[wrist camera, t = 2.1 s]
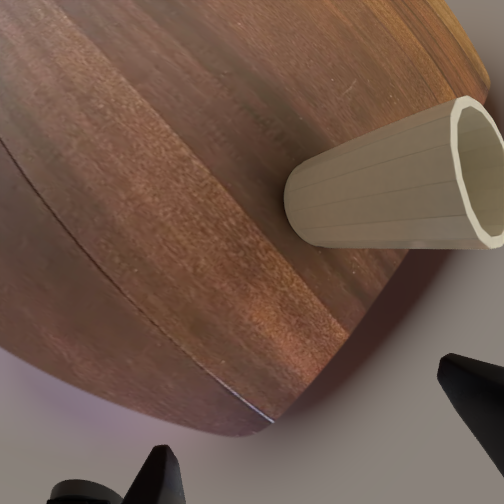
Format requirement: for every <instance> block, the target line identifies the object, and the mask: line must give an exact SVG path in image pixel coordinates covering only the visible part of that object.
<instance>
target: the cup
mask: <svg viewBox="0 0 504 504" xmlns="http://www.w3.org/2000/svg"><path fill="white" fill-rule="evenodd" d="M284 207H285V212H286V215H287V218H288V220H289V223H290V224H291V226H292V228H293V229H294V231H295V232H296V233H297V234H298V235H299V236H300V237H301V238H302V239H303V240H304V241H306V242H307V243H309V244H311V245H314V246H317V247H325V248H395V249H495V248H498V247H501V246H502V245H503V244H504V141H503V139H502V137H501V135H500V132H499V131H498V129H497V127H496V125H495V123H494V121H493V119H492V117H491V116H490V115H489V114H488V112H487V111H486V110H485V109H484V107H483V106H482V105H481V104H480V103H479V102H478V101H476V100H474V99H473V98H471V97H469V96H466V95H465V96H462V97H459V98H456V99H453V100H451V101H448V102H445V103H442V104H440V105H437V106H434V107H432V108H429V109H426V110H424V111H421V112H419V113H416V114H413V115H411V116H408V117H406V118H403V119H401V120H398V121H396V122H393V123H391V124H388V125H386V126H384V127H381V128H379V129H376V130H374V131H371V132H369V133H367V134H364V135H362V136H360V137H357V138H355V139H353V140H350V141H348V142H346V143H343V144H341V145H339V146H337V147H334V148H332V149H330V150H328V151H325V152H323V153H321V154H319V155H316V156H314V157H312V158H310V159H308V160H305V161H304V162H302V163H300V164H299V165H298V166H296V167H295V169H294V170H293V171H292V172H291V174H290V175H289V177H288V179H287V182H286V185H285V190H284Z"/></svg>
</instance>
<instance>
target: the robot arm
mask: <svg viewBox="0 0 504 504" xmlns="http://www.w3.org/2000/svg"><path fill="white" fill-rule="evenodd" d="M437 379H438V381H439V383H440V385H441V386H442V388H443V390H444V391H445V393H446V395H447V396H448V398H449V400H450V401H451V403H452V405H453V407H454V408H455V409H456V411H457V413H458V414H459V416H460V417H461V418H462V419H463V421H464V422H465V424H466V425H467V426H468V428H469V429H470V430H471V432H472V433H473V434H474V436H475V437H476V439H477V440H478V441H479V443H480V444H481V445H482V447H483V448H484V450H485V451H486V453H487V454H488V455H489V457H490V458H491V460H492V461H493V462H494V464H495V465H496V467H497V468H498V470H499V471H500V473H501V474H502V476H503V477H504V367H501V366H498V365H494V364H490V363H486V362H482V361H479V360H475V359H472V358H468V357H464V356H461V355H457V354H454V353H449V354H447V355H445V356H444V357H442V358H441V360H440V363H439V368H438V373H437ZM46 504H112V503H111V502H110V501H109V500H105V499H103V500H55V499H48V500H47V503H46ZM121 504H186V501H185V497H184V490H183V485H182V480H181V474H180V467H179V463H178V460H177V458H176V457H175V455H174V454H173V452H172V450H171V449H170V447H169V446H168V445H158V446H155V447H153V449H152V451H151V452H150V454H149V456H148V458H147V459H146V461H145V463H144V464H143V466H142V468H141V470H140V471H139V473H138V475H137V476H136V478H135V480H134V482H133V483H132V485H131V487H130V488H129V490H128V492H127V494H126V495H125V497H124V499H123V500H122V502H121Z"/></svg>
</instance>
